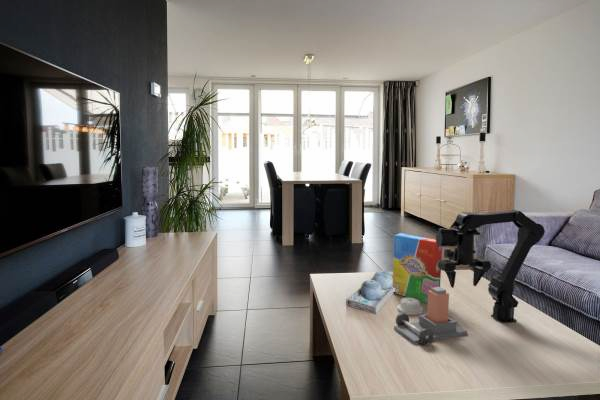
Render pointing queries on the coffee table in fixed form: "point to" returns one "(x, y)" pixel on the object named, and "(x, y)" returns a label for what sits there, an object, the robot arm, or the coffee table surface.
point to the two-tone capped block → (438, 305)
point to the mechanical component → (410, 306)
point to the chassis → (426, 329)
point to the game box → (416, 266)
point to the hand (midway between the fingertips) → (463, 286)
